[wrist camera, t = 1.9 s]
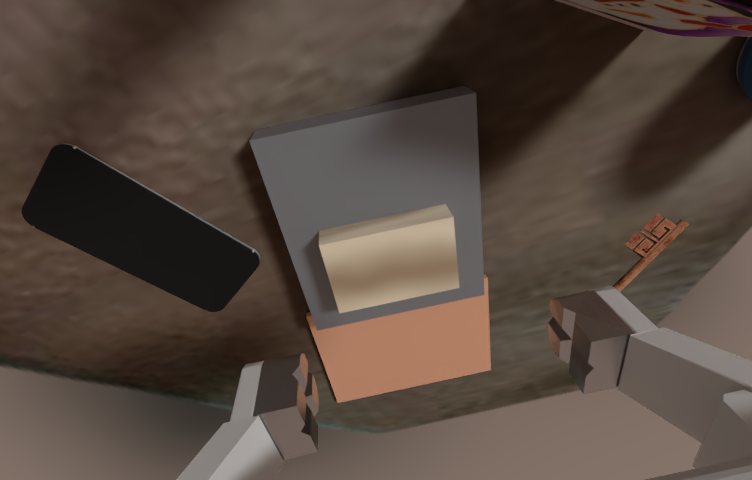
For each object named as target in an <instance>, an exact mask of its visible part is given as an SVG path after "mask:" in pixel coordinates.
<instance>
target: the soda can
mask: <svg viewBox="0 0 752 480" xmlns="http://www.w3.org/2000/svg"><path fill="white" fill-rule="evenodd" d="M736 75H737V79H738V82H739V84H740V85H741V87H742V89H743V91H744V92H745V94H746V95H747V96H748V97H749V98H750V99H751V100H752V37H748V38H747V40H746V41H745V43H744V45H743V47H742V49H741V51H740V54H739V57H738V60H737V65H736Z"/></svg>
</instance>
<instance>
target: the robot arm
mask: <svg viewBox="0 0 752 480" xmlns="http://www.w3.org/2000/svg"><path fill="white" fill-rule="evenodd" d="M549 311H550V312H551V314H552V315H553V318H552V319H551V320H550V321H549V323H548V335H549V339H550V343H551V345H552V347H553V349H554V351H555V353H556V354H557V356H558V357H559V359H561V360H563V361H565V362H567V363H569V374H570V375H571V377H572V378H573V380H574V381H575V383H576V384H577V385H578V387H579V388H580V390H581V391H582V393H583V394H586V393H592V392H597V391H602V390H608V389H613V388H618V390H620V391H621V392H623V393H624V394H626V395H627V396H629V397H631V398H632V399H634V400H635V401H637V402H638V403H640V404H642V405H643V406H645V407H646V408H648V409H649V410H651V411H652V412H654V413H655V414H657V415H659V416H660V417H662V418H663V419H665V420H666V421H668V422H670V423H671V424H673V425H674V426H676V427H678V428H679V429H681V430H682V431H684V432H685V433H687V434H688V435H690V436H691V437H693V438H695V439H696V440H698V441H699V442H701V443H702V444H701V446H700V448H699V450H698V453H697V455H696V457H695V459H694V463H693V467H694V468H695V469H692V470H688V471H683V472H678V473H674V474H669V475H665V476H660V477H655V478H651V479H646V480H752V361H750V360H747V359H744V358H742V357H739V356H737V355H734V354H731V353H729V352H726V351H724V350H721V349H719V348H716V347H713V346H711V345H708V344H706V343H703V342H701V341H698V340H695V339H693V338H690V337H688V336H685V335H682V334H679V333H677V332H675V331H672V330H669V329H667V328H659V329H658V328H657V327H656V326H655V325H654V324H653V323H652V322H651V321H650V320H649V319H648V318H646V317H645V316H644V315H643V314H642V313H641V312H640V311H639V310H638V309H637V308H636V307H635V306H634V305H633V304H632V303H631V302H629V301H628V300H627V299H626V298H625V297H624V296H623V295H622V294H621V293H620V292H619V291H618V290H617V289H616V288H614V287H612V286H606V287H602V288H597V289H593V290H590V291H584V292H580V293H575V294H571V295H567V296H562V297H558V298H553V299H552V300H551V302H550V305H549ZM317 412H318V392H317V386H316V382H315V379H314V376H313V374H311V373H310V372H308V362H307V359H306V357H305V355H304V354H302V353H301V354H295V355H290V356H285V357H280V358H274V359H269V360H265V361H261V362H255V363H250V364H245V366H244V367H243V369H242V372H241V376H240V380H239V384H238V389H237V393H236V397H235V401H234V405H233V410H232V414H231V418H230V422H227V423H224V424H223V425H222V426H221V427H220V428H219V429H218V431H217V432H216V433H215V434H214V435H213V436H212V438H211V439H210V440H209V441H208V443H207V444H206V445H205V446H204V447H203V448H202V450H201V451H200V452H199V453H198V454H197V456H196V457H195V458H194V459H193V460H192V461H191V463H190V464H189V465H188V466H187V468H186V469H185V470H184V471H183V472H182V473H181V475H180V476H179V477H178V478H177V479H176V480H275V479H276V477H277V475H278V473H279V471H280V469H281V467H282V466H283V464H284V461H283V460H286V459H291V458H295V457H299V456H303V455H306V454H311V453H315V452H317V451H318V425H317V423H316V420H315V418H314V416H315V415H316V413H317Z"/></svg>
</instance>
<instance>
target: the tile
mask: <svg viewBox="0 0 752 480" xmlns="http://www.w3.org/2000/svg"><path fill="white" fill-rule="evenodd" d="M319 248H320V251H321V255H322V258H323V261H324V264H325V268H326V271H327V274H328V277H329V281H330V284H331V287H332V291H333V294H334V297H335V300H336V304H337V307H338V310H339V314H340V313H344V312H349V311H354V310H358V309H363V308H368V307H372V306H377V305H382V304H386V303H391V302H396V301H400V300H405V299H410V298H414V297H419V296H424V295H428V294H433V293H438V292H442V291H447V290H452V289H456V288H459V276H458V264H457V252H456V240H455V228H454V217H453V215H452V214H451V212H450V210H449V209H448V207H447V206H446V204H442V205H438V206H433V207H428V208H424V209H419V210H414V211H410V212H405V213H400V214H395V215H391V216H386V217H381V218H377V219H372V220H367V221H363V222H358V223H353V224H349V225H344V226H339V227H334V228H330V229H325V230H320V231H319Z"/></svg>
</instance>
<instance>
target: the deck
mask: <svg viewBox="0 0 752 480" xmlns="http://www.w3.org/2000/svg"><path fill="white" fill-rule="evenodd" d="M249 141H250V144H251V147H252V150H253V153H254V155H255V158H256V161H257V164H258V167H259V169H260V172H261V175H262V178H263V181H264V183H265V186H266V189H267V192H268V195H269V197H270V200H271V203H272V206H273V209H274V211H275V214H276V217H277V220H278V223H279V225H280V228H281V231H282V234H283V237H284V239H285V242H286V245H287V248H288V251H289V254H290V256H291V259H292V262H293V265H294V268H295V270H296V273H297V276H298V279H299V282H300V284H301V287H302V290H303V293H304V296H305V298H306V301H307V304H308V307H309V310H310V312H311V315H312V318H313V321H314V324H315V326H316V329H317V331H318V330H323V329H327V328H332V327H337V326H341V325H346V324H351V323H355V322H360V321H365V320H369V319H374V318H379V317H383V316H388V315H393V314H397V313H402V312H407V311H411V310H416V309H421V308H425V307H430V306H435V305H439V304H444V303H449V302H453V301H458V300H463V299H467V298H472V297H477V296H481V295H484V271H483V246H482V222H481V197H480V173H479V148H478V124H477V99H476V92H474V91H472V90H470V89H469V88H467V87H465V86H460V87H456V88H451V89H446V90H441V91H437V92H432V93H427V94H422V95H418V96H413V97H408V98H404V99H399V100H394V101H389V102H385V103H380V104H375V105H371V106H366V107H361V108H356V109H352V110H347V111H342V112H338V113H333V114H328V115H323V116H319V117H314V118H309V119H305V120H300V121H295V122H290V123H286V124H281V125H276V126H272V127H267V128H262V129H257V130H255V132H254V134H253V135H252V137H251V139H250V140H249ZM442 204H446V206H447V207H448V209H449V210H450V212H451V214H452V215H453V217H454V228H455V240H456V252H457V264H458V276H459V288H456V289H452V290H447V291H442V292H438V293H433V294H428V295H424V296H419V297H414V298H410V299H405V300H400V301H396V302H391V303H386V304H382V305H377V306H372V307H368V308H363V309H358V310H354V311H349V312H344V313H340V314H339V310H338V307H337V304H336V300H335V297H334V294H333V291H332V287H331V284H330V281H329V277H328V274H327V271H326V268H325V264H324V261H323V258H322V255H321V251H320V248H319V231H320V230H325V229H330V228H334V227H339V226H344V225H349V224H353V223H358V222H363V221H367V220H372V219H377V218H381V217H386V216H391V215H395V214H400V213H405V212H410V211H414V210H419V209H424V208H428V207H433V206H438V205H442Z"/></svg>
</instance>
